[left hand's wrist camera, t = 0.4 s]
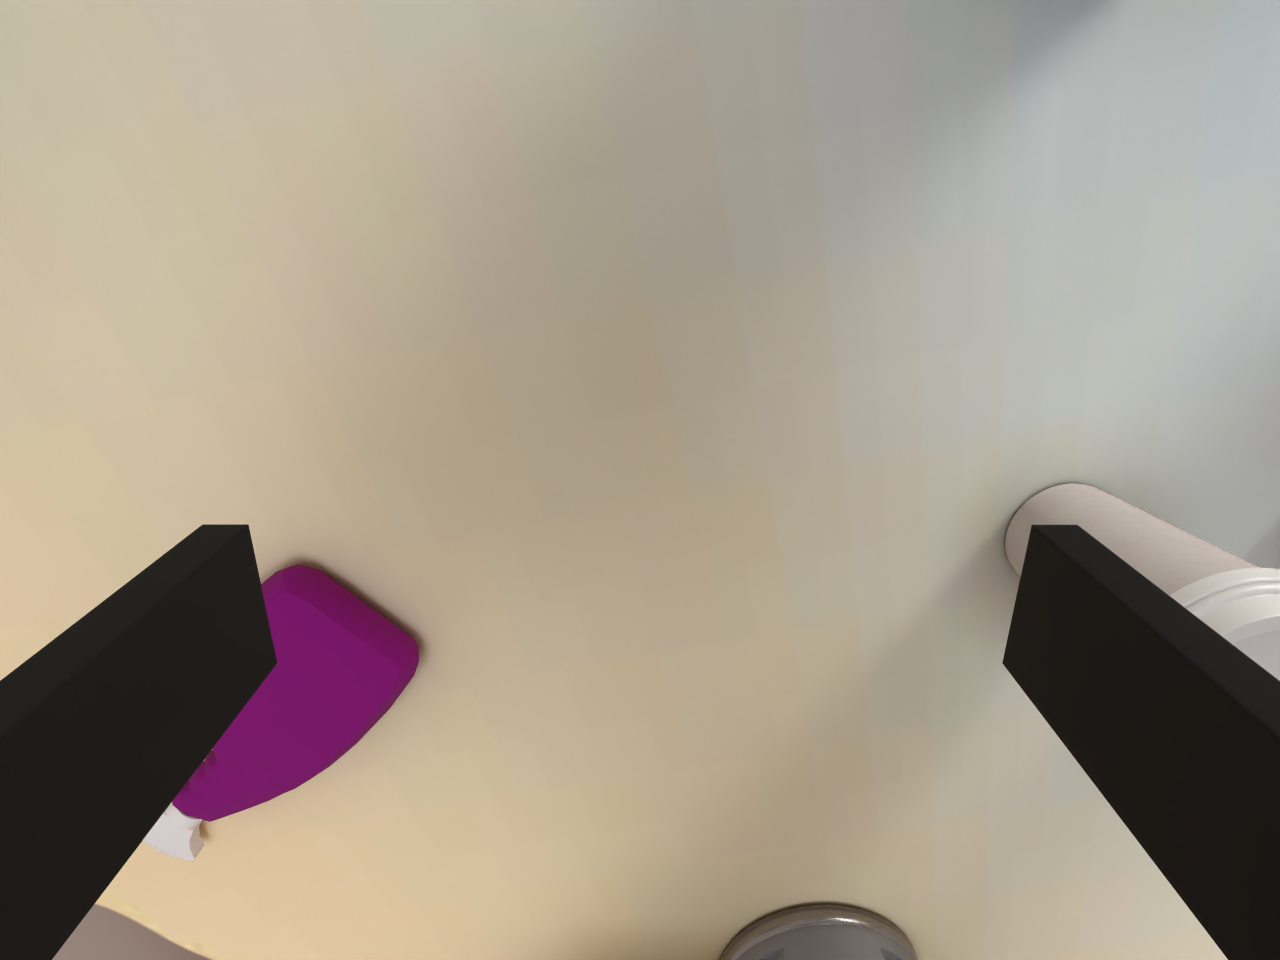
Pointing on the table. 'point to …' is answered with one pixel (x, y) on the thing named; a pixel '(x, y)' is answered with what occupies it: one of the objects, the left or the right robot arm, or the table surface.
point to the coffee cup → (1167, 564)
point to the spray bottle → (295, 704)
